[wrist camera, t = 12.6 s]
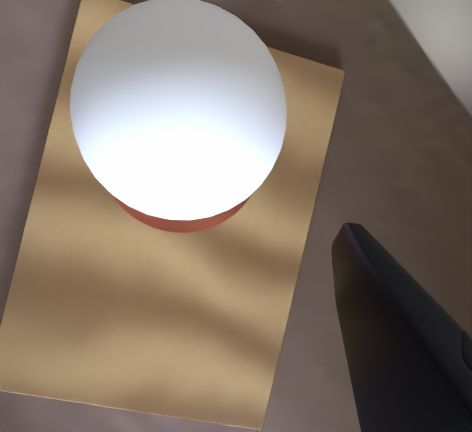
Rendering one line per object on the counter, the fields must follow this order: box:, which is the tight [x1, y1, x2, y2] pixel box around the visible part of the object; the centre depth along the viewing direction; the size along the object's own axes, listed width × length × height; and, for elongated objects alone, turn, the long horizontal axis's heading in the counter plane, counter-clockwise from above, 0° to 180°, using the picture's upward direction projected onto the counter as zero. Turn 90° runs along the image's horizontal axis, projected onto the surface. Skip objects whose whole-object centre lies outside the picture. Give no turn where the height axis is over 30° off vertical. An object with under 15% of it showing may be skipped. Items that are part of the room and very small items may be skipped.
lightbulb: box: [70, 0, 287, 220], centre depth 13 cm, size 6×6×11 cm
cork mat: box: [0, 0, 345, 430], centre depth 19 cm, size 20×14×1 cm
